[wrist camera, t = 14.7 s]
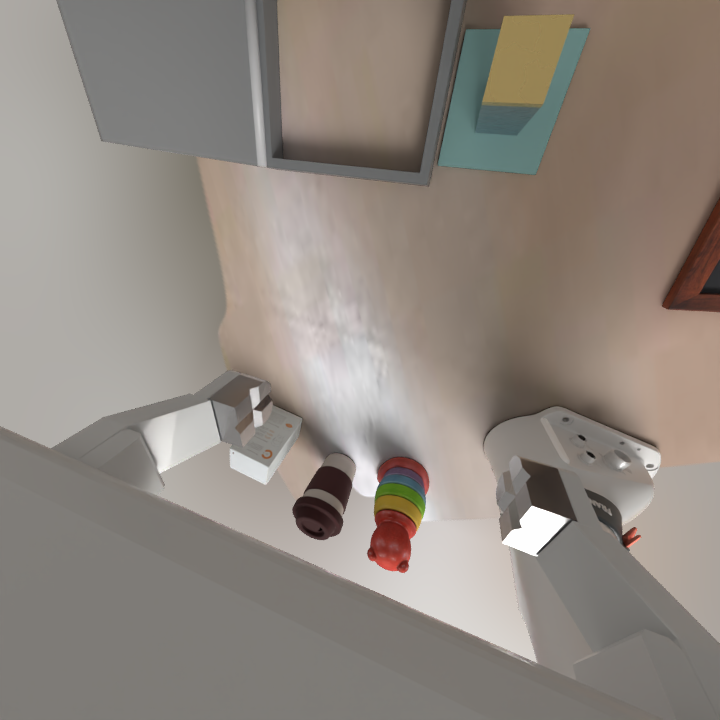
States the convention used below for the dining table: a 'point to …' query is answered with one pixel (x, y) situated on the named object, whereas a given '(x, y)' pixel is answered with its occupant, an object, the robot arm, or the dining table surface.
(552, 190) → the dining table surface
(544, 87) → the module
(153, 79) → the case
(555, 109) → the pad
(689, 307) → the picture frame
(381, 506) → the stacking bear
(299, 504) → the coffee cup
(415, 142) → the dining table surface
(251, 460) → the small box
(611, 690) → the robot arm
